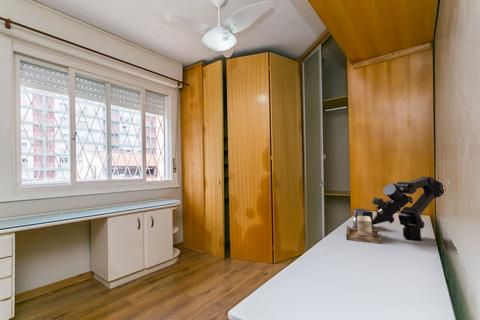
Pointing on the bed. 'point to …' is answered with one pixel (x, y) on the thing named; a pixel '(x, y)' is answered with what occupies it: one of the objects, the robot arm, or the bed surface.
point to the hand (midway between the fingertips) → (371, 224)
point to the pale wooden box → (364, 226)
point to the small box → (364, 213)
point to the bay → (353, 235)
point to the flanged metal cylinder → (355, 221)
